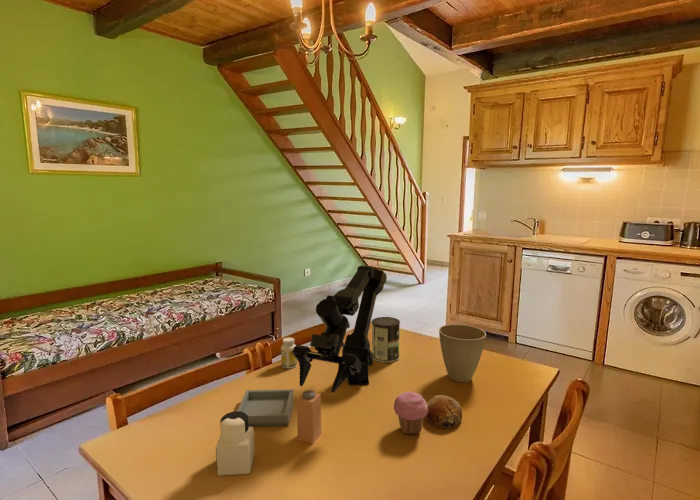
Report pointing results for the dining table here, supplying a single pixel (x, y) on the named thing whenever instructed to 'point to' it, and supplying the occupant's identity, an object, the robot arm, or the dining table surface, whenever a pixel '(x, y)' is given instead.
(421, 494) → the dining table surface
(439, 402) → the bread roll
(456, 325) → the plant pot
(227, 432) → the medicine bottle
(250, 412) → the tray
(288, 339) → the supplement bottle
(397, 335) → the coffee can
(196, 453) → the dining table surface
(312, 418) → the block
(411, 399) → the cupcake
